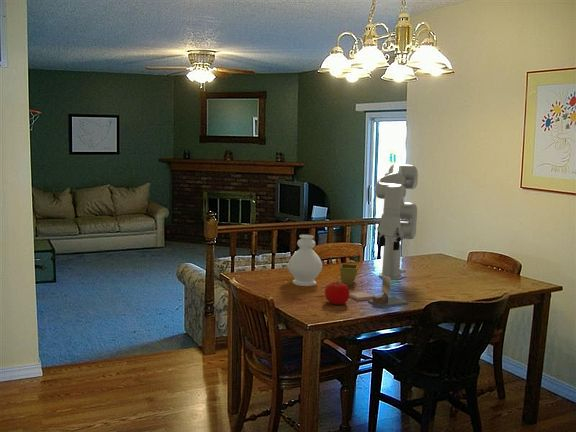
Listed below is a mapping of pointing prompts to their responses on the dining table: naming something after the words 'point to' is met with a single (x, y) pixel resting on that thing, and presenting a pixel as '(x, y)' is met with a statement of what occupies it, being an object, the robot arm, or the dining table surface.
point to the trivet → (390, 302)
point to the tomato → (337, 293)
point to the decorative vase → (305, 262)
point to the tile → (361, 296)
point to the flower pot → (348, 273)
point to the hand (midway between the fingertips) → (389, 247)
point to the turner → (383, 291)
